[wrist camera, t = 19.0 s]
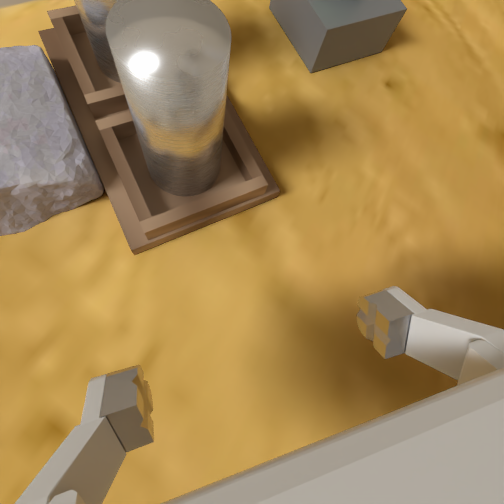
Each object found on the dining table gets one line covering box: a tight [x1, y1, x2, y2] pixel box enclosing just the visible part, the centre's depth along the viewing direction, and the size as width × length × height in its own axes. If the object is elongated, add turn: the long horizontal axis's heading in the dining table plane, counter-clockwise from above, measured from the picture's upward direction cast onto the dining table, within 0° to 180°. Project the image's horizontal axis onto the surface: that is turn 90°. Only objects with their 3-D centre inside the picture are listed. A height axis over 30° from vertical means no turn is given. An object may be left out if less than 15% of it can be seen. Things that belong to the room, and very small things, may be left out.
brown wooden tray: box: [38, 6, 280, 255], centre depth 23 cm, size 11×19×2 cm, turn 27°
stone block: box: [0, 45, 104, 236], centre depth 21 cm, size 12×5×10 cm
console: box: [269, 0, 407, 73], centre depth 28 cm, size 8×8×4 cm
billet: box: [105, 0, 231, 196], centre depth 18 cm, size 5×5×10 cm
